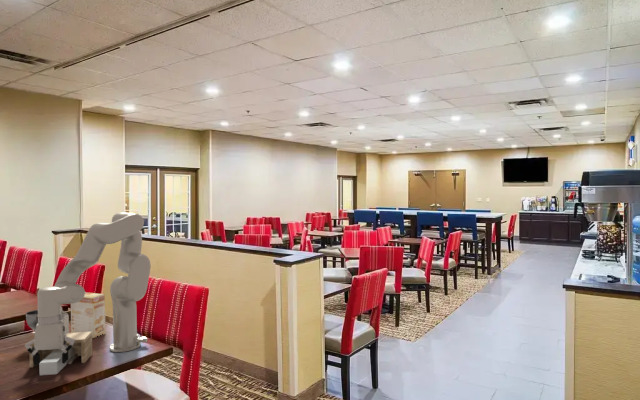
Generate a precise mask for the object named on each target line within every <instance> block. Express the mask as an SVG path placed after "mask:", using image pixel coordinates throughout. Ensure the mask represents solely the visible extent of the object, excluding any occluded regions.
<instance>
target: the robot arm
mask: <svg viewBox="0 0 640 400" xmlns="http://www.w3.org/2000/svg"><path fill="white" fill-rule="evenodd" d="M144 224H145V220H144V218H143V217H142V215H141V214H138V213H136V212H135V213H134V212H123V211H122V212H117V213H114V215H113V216H112V218H111V222H110V223H105V222H96V223H94V224H92V225H91V226H90V227H89V229H88V231H87V232H86V235H85V236H84V238H83V240H82V243H81V244H80V247H79V249H78V251H77V252H76V255H75V256H74V257H73V258H72V259H71V260H70V261H69V262H68V263H67V264H66V265H65V266H64V267H63V269H62V270H61V272H60V274H59V275H58V278H57V279H56V282H55V284H54V285H53V286H45V287H42V288H40V289H38V291H37V293H36V294H37V295H36V296H37V297H36V298H37V310H38V324H37V325H36V329H35V331H34V338H33V339H31V340H30V341H28V342H26V343H25V344H24V347H25V348H26V350H27V352H28V353H29V352H30V353H31V355H32V356H33V363H34V367H36V366H39V363H40V362H41V361H40V353H38V351H39V350H52V349H60V350H62V351H63V353H62V363H65V362H66V361H67V360H68V351H69V350H70V349H71V348H72V347H73V345H74V343H75V341H76V340H75V339H72V338H70V337H67V334H66V328H65V323H64V321H61V320H63V319H65V316H63V315H62V313H61V308H62V305H71V304H72V303H77V302H79V301H81V300H82V299H83V298H84V295H85V292H86V291H85V288H84V287H83V286H82V285H80V284H77V281H78V280H79V278H80V276H81V275H82V274H83V273H84V272H85V271H86V270H88V269H90V268H92V267H94V266H95V265H97V264H98V262H99V260H100V258H101V257H102V256H101V255H102V254H103V252H104V250H105V248H106V246H107V245H112V244H115V243H119V242H120V249H119V255H118V261H117V267H118V268H117V269H118V270H119V272H121V273H125V274H127V275H121V276H117V277H115V278H114V279H113V280H112V282H111V284H110V287H109V293H110V297H111V302H112V303H111V304H112V329H113V330H112V331H113V334H112V335H113V339H112V342H113V343H111V344H110V345H109V351H111V352H114V353H126V352H131V351H134V350H136V349H138V348H139V347H140V346H141V345H142V343H147V342H148V338H147V337H146V336H140V334H139V333H138V329H137V325H138V323H137V322H138V321H137V320H138V319H137V318H138V317H137V314H138V313H137V302H138V301H141V300H142V299H143V298H144V296H145V295H146V293H147V289H148V286H149V281H150V280H149V279H150V274H151V266H152V265H151V261H150V258H149V257H148V256H147V254H144V253H142V246H143V237H142V233H141V230H142V229H143V228H144ZM67 342H70V345H69V346H67V345H66V343H67ZM33 343H34V348H35V349H34V348H33V347H31V344H33Z"/></svg>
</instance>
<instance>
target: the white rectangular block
mask: <svg viewBox="0 0 640 400" xmlns="http://www.w3.org/2000/svg"><path fill="white" fill-rule="evenodd" d="M62 353H63V351H62V350H60V349H55V350H54V351H53V352H52V353H50V354H49V355H48V356H47V357H46V358H45V359H42V360H41V361H40V363H39V364H38V366H39V367H38V368H39V376H48V375H58V373H60V372H61V370H63V369H64V368H65V367H66V365H67V364H68V361H69V360H70V359H71V358H72V357H73V356H74V347H72V348H71V349H70V350H69V351H68V360H67V361H66V362H65V363H62Z"/></svg>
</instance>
